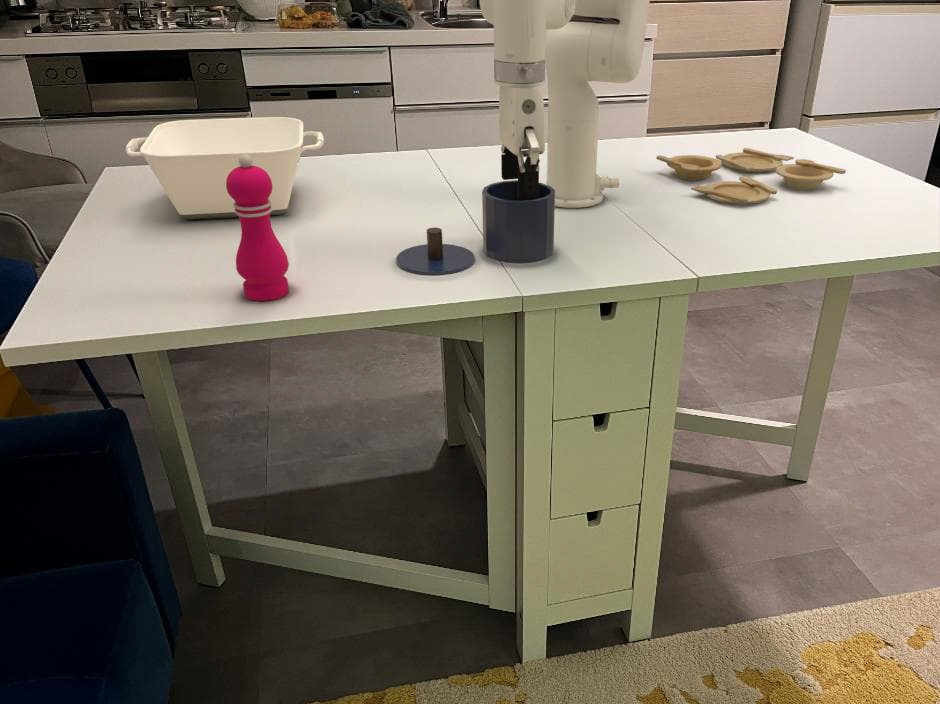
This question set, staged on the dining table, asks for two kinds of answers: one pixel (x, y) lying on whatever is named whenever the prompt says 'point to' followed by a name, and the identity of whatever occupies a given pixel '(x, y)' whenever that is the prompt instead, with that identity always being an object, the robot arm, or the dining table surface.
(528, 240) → the tin
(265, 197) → the pepper mill
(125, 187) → the dining table surface
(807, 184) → the tableware set
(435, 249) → the tin lid
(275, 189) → the tub
